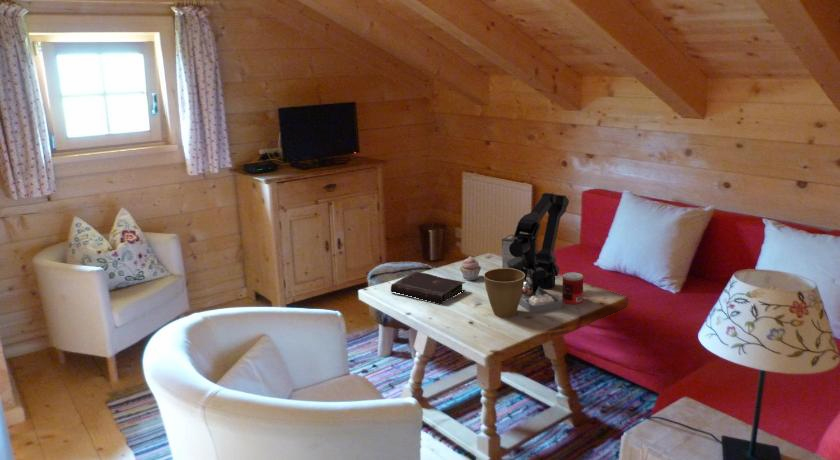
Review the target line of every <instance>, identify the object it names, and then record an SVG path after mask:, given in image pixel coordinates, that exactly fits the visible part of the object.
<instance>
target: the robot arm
mask: <svg viewBox="0 0 840 460" xmlns="http://www.w3.org/2000/svg"><path fill="white" fill-rule="evenodd" d="M569 201H570V200H569V198H567V196H566V195H563V194H555V193H553V192H552V193H550V192H544V193H542V194H541V198H540V199H539V200H538V201H537V203H536V204H535V205H534V207H533V209H531V211H530V212H529V213H527V214H524V215H523V216H522V217H521V218H520V219H519V220H518V222H517V226H516V229H515V232H514V234H513V235H514V237H518V238H515V239H514V242H513V243H512V244H511V245H510V247H509V251H510V253H511V255H512V256H514V257H516V258H514V259H512V260H510V261H508V262H507V265H508V268H511V269H516V270H520V271H522V272H523V273H524V274H525V279H531V282H532V291H533V293H535V292H536V291H537V289H538V287H540V288H541V289H543V290H551V289H554V288H555V287H556V277H558V276H559V273H560V268H559V267H558V265H557V263H556V262H557V258H556V255H555V252H554V250H555V246H556V241H557V237H558V231H559V226H560V222H561V217H563V216H564V215H565V213H566V212H567V209H568V206H569V203H570V202H569ZM546 214H548V217H547V221H546V227H545V231H544V237H543V241H542V246H541V249H540V250H539V251H537V238H538V237H539V231H540V230H541V229H540V228H541V221H542V220H543V218H544V216H545V215H546ZM527 277H528V278H527Z"/></svg>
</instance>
